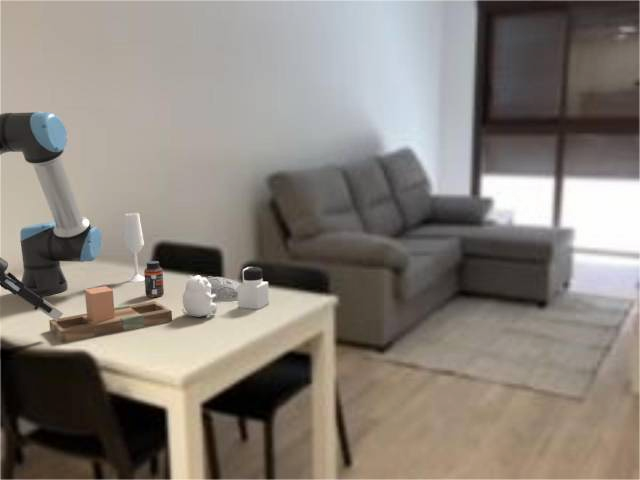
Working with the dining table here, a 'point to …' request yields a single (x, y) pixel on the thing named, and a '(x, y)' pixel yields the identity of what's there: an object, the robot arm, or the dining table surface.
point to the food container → (223, 289)
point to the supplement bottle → (153, 279)
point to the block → (99, 303)
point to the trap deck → (110, 321)
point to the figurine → (198, 297)
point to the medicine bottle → (253, 289)
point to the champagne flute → (134, 241)
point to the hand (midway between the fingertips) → (59, 316)
